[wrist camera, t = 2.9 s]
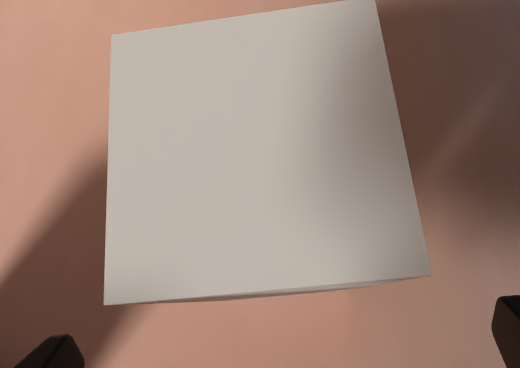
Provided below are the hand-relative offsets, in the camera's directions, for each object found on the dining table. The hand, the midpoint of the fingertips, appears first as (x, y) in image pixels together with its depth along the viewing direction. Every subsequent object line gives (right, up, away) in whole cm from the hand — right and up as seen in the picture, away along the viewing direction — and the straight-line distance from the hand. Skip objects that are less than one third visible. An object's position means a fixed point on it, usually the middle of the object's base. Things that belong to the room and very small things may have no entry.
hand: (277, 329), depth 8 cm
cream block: (+1, 0, +11) cm, 11 cm away
